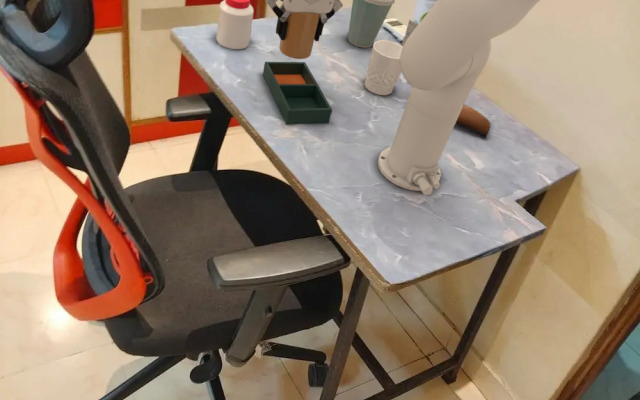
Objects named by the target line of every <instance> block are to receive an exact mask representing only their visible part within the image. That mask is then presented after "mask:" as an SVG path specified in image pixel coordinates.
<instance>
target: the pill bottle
mask: <svg viewBox="0 0 640 400" xmlns="http://www.w3.org/2000/svg"><path fill="white" fill-rule="evenodd" d="M218 8H219V9H218V16H217V17H218V19H217V28H216V41H217V43H218V44H219V45H220V46H222V47H225V48H226V49H231V50H243V49H246V48H247V47H249V45H250V43H251V42H250V41H251V35H252V27H253V20H254V13H255V10H254V7H253V6H252V4H251V0H222V1H221V2H220V3H219V7H218Z"/></svg>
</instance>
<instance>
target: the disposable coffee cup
mask: <svg viewBox="0 0 640 400" xmlns="http://www.w3.org/2000/svg"><path fill="white" fill-rule="evenodd" d="M395 1H396V0H352V4H351V10H350V11H351V12H350V17H349V18H350V19H349V26H348V33H347V38H348V40H347V41H348V42H349V43H351V44H352V45H353V46H355V47H358V48H363V49H364V48H367V49H368V48H370V47H371V46H373V44H374V43H375V40H376V38H377V36H378V35H379V32H380V31H381V28H382V26H383V24H384V22H385V20H386V18H387V16H388V14H389V12H390V10H391V8H392V6H393V5H394V4H395Z"/></svg>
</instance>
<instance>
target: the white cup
mask: <svg viewBox="0 0 640 400" xmlns="http://www.w3.org/2000/svg"><path fill="white" fill-rule="evenodd" d="M402 48H403V46H401V44H400V43H397V42H394V41H392V40H386V39H382V40H377V41H374V42H373V44H372V49H371V52H370V57H369V62H368V66H367V69H366V70H367V71H366V76H365V80H364V86H365V88H366V89H367V90H368V91H369V92H371V93H373V94H374V95H379V96H389V95H391V94H392V93H393V91H394V89H395V85H397V82H398V79H399V77H400V74H402V71H401V66H400V56H401V52H402Z"/></svg>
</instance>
